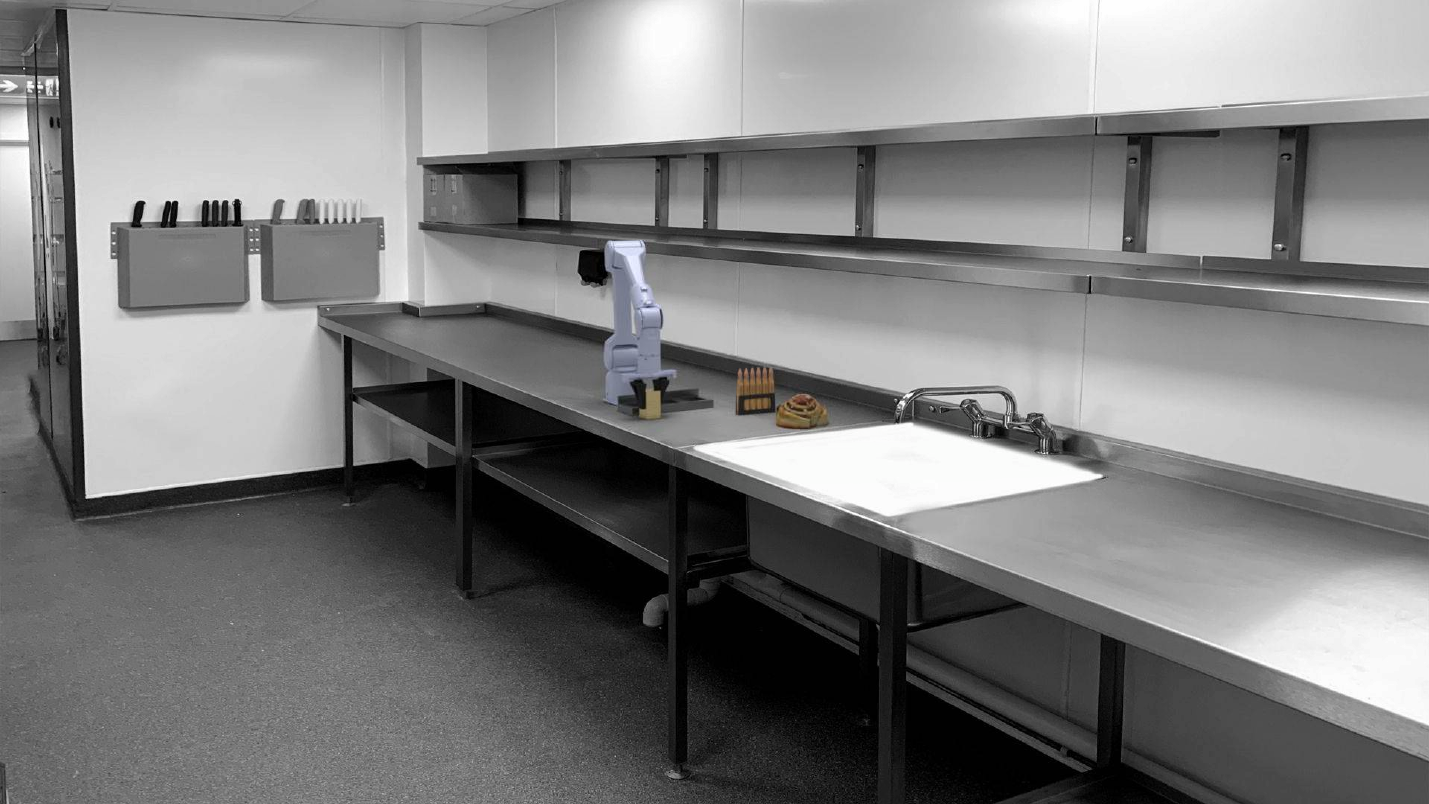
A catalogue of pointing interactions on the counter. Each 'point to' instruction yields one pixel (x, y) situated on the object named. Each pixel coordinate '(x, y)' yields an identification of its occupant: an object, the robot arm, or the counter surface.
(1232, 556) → the counter surface
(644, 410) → the brass peg
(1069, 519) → the counter surface
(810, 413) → the pastry
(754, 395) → the ammunition clip
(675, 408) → the charcoal rail
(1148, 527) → the counter surface
